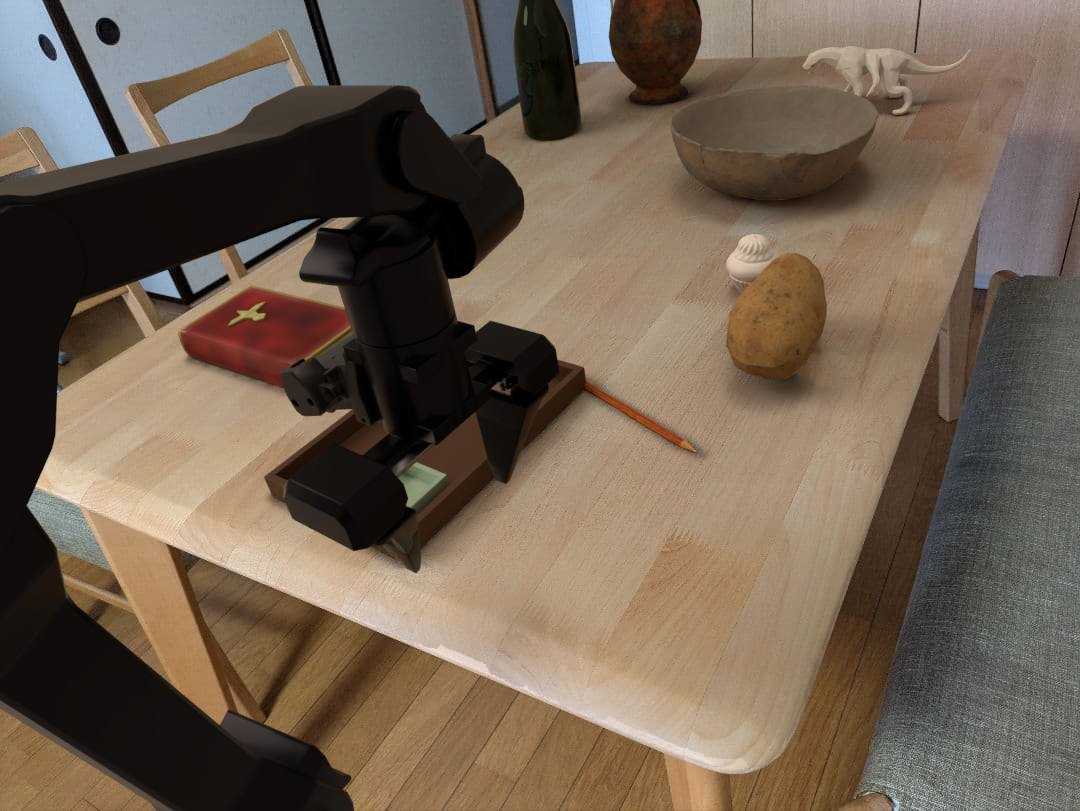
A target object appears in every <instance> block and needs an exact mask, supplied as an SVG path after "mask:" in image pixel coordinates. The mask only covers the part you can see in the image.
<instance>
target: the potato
mask: <svg viewBox="0 0 1080 811" xmlns="http://www.w3.org/2000/svg"><path fill="white" fill-rule="evenodd" d="M825 291H826V290H825V280H824V278H823V276H822V274H821V271H820V269H819V268H818V267H817V266H816V265H815V264H814V263H813V261H811V259H809V258H808V257H807V256H805V255H803V254H800V253H797V252H796V253H795V252H790V253H787V252H786V253H783V254H781V255H780V257H778V258H776V259H774V260H773V261H772V262H771V263H770V264H769V265H768V266H767V267H766V268H765V269H764V270H763V271H762V272H761V274H760V275H759V276H758V277H757V278H756V279H755V280H754V281H753V282H752V283H751V284H750V285H749V286H748V287H747V288H746V289H745V290H744V291H743V292H742V293H739V295H738V297H737V299H736V301H735V302H734V304H733V306H732V308H731V310H730V312H729V315H728V322H727V331H726V343H725V344H726V345H725V346H726V348H727V351H728V353H729V356H730V358H731V360H732V362H733V364H734V367H736V368H737V369H739V370H740V371H742V372H744V373H746V374H747V375H751V376H755V377H759V378H763V379H770V380H787V378H789V377H791V376H793V375H794V374H796V373H797V372H798V371H799V370H800V369H801V368H803V367H804V366H805V365H806V364H807V363H808V361H809V359H810V358H811V356H812V355H813V353H814V351H815V349H816V347H817V345H818V343H819V342H820V340H821V337H822V335H823V332H824V328H825V324H826V320H827V315H828V304H827V299H826V292H825Z"/></svg>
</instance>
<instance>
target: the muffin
mask: <svg viewBox="0 0 1080 811" xmlns="http://www.w3.org/2000/svg"><path fill="white" fill-rule="evenodd" d="M780 256H781V255H780V253H779V252H778V251H776V250H775V249H774V248H773V247H772V246H771V241H770V239H769V238H768V237H767V236H766V235H763V234H759V233H758V234H757V233H754V234H753V233H751V234H747V235H746V236H742V238H741V239H739V241H738V244H737V247H736V248H735V250H734V251H733V252H731V254H729V255H728V258H727V260H726V262H725V267H726V270H727V272H728V275H729V278H730V280H731V281H732V283H733V284H734V286H735V287H736V289H737V291H738V292H739V294H741V293H742V292H743V291H744V290H745V289H746V288H747V287H748V286H749V285H750V284H751V283H752V282H753V281H754V280H755V279H756V278H757V277H758V276H759V275H760V274H761V272H762V271H763V270H764V269H765V268H766V267H767V266H768V265H769V264H770V263H771V262H772V261H773V260H774V259H776V258H778V257H780Z"/></svg>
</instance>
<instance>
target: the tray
mask: <svg viewBox="0 0 1080 811" xmlns="http://www.w3.org/2000/svg"><path fill="white" fill-rule="evenodd" d="M558 366H559V372H560V373H559V374H558V375H557V376H556V377H555V378H554V379H553V380H552V381H550V382H549V383H548V384H549V392H548V394H547V395H546V396H545V397H544V398H543V400H542V402H541V404H540V407H539V409H538V411H537V413H536V416H535V418H534V420H533V423H532V425H531V427H530V430H529V432H528V434H527V437H526V440H525V442H524V444H523V447H522V450H524V449H525V448H526V447H527V446H528V445H529V444H530V443H531V442H532V441H533V440H534V439H535V438H536V437H537V436H538V435H539V434H540V433H541V432H542V431H543V430H545V429H546V427H547V426H548V425H550V424H551V423H552V421H554V420H555V419H556V417H558V416H559V415H560V414H561V413H563V411H564V410H565V409H566V408H567V407H568V406H569V405H570V404H571V403H572V402H573V401H574V400H576V399H577V397H578V396H579V395H580V394H581V393H582V392H583V391H584V390H586V389H585V384H586V381H587V376H586V370H585V369H586V368H585V366H582V365H577V364H574V363H571V362H567V361H564V360H561V359H558ZM386 435H388V434H387V433H386V432H385V430H384V428H383V425H382V424H381V423H378V422H376V423H375V424H373V425H372V426H368V425H366V424H363V423H361V422H358V421H357V419H356V416H355V413H354V410H353V409H350V410H349V411H347V412H346V413H345V414H343V416H341V417H340V418H338V420H336V421H334V422H333V423H332V424H330V425H329V426H328V427H327V428H326V429H324V430H323V431H321V432H320V433H319V434H318V435H316V436H315V437H314V438H312V439H311V440H310V441H308V442H307V443H306V444H305V445H303V446H302V447H300V448H299V449H298V450H297V451H296V452H294V453H293V454H291V455H290V456H289V457H288V458H286V459H285V460H284V461H282V462H281V463H280V464H278V465H277V466H276V467H274V468H273V469H272V470H271V471H270V472H268V473H266V474H265V475H264V476H263V479H264V481H265V484H266V485H267V488H268V490H269V492H270V494H271V497H273V498H274V499H277V500H279V501H280V502H282V503H284V504H286V503H285V501H284V498H283V486H284V484H285V483H286V482H287V480H288V479H289V478H290V477H291V476H293V475H294V474H295V473H296V472H298V471H299V470H300V469H302V468H303V467H304V466H305V465H307V464H308V463H309V462H310V461H312V460H313V459H314V458H316V457H317V456H318V455H319V454H321V453H322V452H323V451H325V450H326V449H327V448H328V447H330V446H331V445H332V444H333V443H334V444H337V445H339V446H341V447H344V448H346V449H348V450H351V451H353V452H355V453H358V454H360V455H363V454H364V453H366V452H367V451H368V450H369V449H371V448H372V447H373V446H374V445H375V444H377V443H378V442H379V441H380V440H382V439H383V438H384V437H385V436H386ZM417 463H420V464H422V465H425V466H427V467H429V468H432V469H434V470H437V471H439V472H442V473H444V474H446V475H447V478H448V481H449V486H448V487H447V488H446V489H445V490H444V491H443V492H441V493H440V494H439V495H438V496H437V497H436V498H435V499H434V500H433V501H432V502H431V503H430V504H429V505H428V506H426V507H425V508H424V509H423V510H422V511H421V512H420V513H419V514H418V515H417V523H418V533H419V542H420V549H422V547H424V546H425V545H426V544H427V543H428V542H429V541H430V540H431V539H432V538H433V537H434V536H435V535H436V534H437V533H438V532H439V531H440V530H441V529H442V528H443V527H445V525H446V524H447V523H448V522H450V520H451V519H452V518H453V517H455V516H456V514H457V513H458V512H460V511H461V510H462V509H463V508H464V507H465V506H466V505H467V504H468V503H469V502H470V501H471V500H472V499H473V498H474V497H475V496H476V495H478V493H479V492H480V491H481V490H482V489H484V487H485V486H487V485H488V483H490V481H492V480H493V479H494V476H493V473H492V470H491V468H490V465H489V463H488V459H487V455H486V451H485V448H484V444H483V440H482V436H481V432H480V428H479V425H478V421H477V417H476V413H474V414H472V415H471V416H470V417H469V418H468V419H467V420H466V421H464V422H463V423H462V424H461V425H460V426H459V427H458V428H456V429H455V430H454V431H453V432H452V433H451V434H450V435H448V436H447V437H446V438H445V439H444V440H443V441H442V442H440V443H439V444H438V445H436V446H434V447H433V448H432V449H431V450H430V451H429V452H428V453H426V454H425V455H424V456H423V457H422V458H421V459H420V460H418V461H417ZM370 548H372V549H375V550H377V551H378V552H380V553H383V554H384V555H387V556H389V557H390V558H392V559H395V558H394V557H393V556H392V555H391V554H390V553H389V552H388V551H387V550H386V549H385V548H384V547H383V546H382V545H381V546H374V545H372V546H371V547H370ZM395 560H396V559H395Z"/></svg>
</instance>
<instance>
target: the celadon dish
mask: <svg viewBox="0 0 1080 811" xmlns="http://www.w3.org/2000/svg"><path fill="white" fill-rule="evenodd" d="M399 479H400V481H401V482H402V483H403V484H404V486H405V489H406V493H407V496H408V501H407V504H406V506H408V507H410V508H412V509H414V510H416V514H417V515H418V514H419V513H420V512H421V511H422V510H423V509H424V508H425V507H426V506H428V505H429V504H430V503H431V502H432V501H433V500H434V499H435V498H436V497H437V496H438V495H439V494H440V493H441V492H443V491H444V490H445V489H446V488H447V487H448V486H449V481H448V478H447V475H446V474H444V473H442V472H439V471H437V470H434V469H432V468H429V467H427V466H425V465H422V464H420V463H417V462H416V463H415V464H414V465H413V466H412V467H410V468H409V469H408V470H407V471H406V472H405V473H404V474H402V475H401V476H400V477H399Z"/></svg>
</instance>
